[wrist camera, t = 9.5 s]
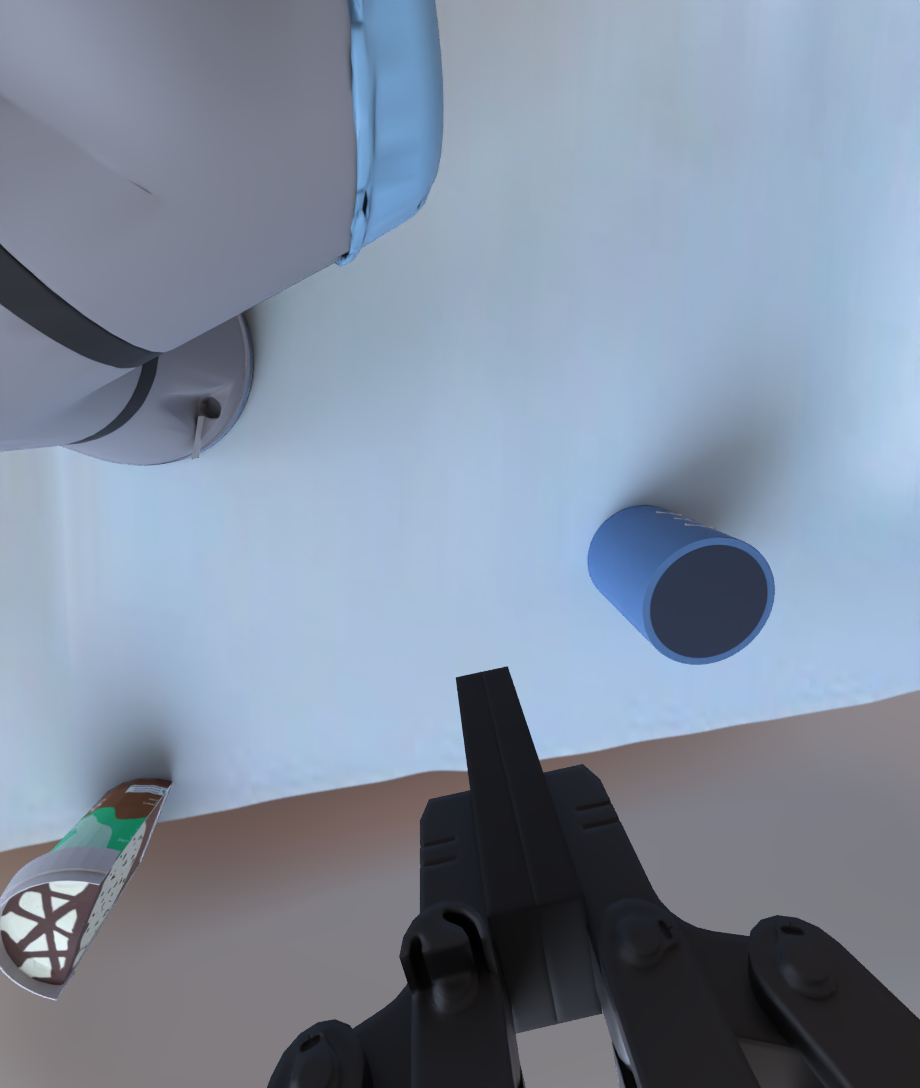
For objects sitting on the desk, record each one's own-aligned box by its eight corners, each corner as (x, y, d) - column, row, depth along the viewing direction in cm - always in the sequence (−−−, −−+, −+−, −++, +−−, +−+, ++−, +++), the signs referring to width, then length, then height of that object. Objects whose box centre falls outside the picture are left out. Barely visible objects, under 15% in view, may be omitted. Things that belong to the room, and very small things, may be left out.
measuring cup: (673, 609, 40) (577, 598, 39) (700, 512, 38) (599, 498, 37) (751, 671, 31) (627, 658, 30) (793, 545, 28) (661, 528, 28)
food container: (103, 745, 40) (1, 851, 30) (177, 768, 41) (101, 878, 31) (65, 855, 42) (-41, 985, 33) (136, 874, 43) (54, 1005, 34)
